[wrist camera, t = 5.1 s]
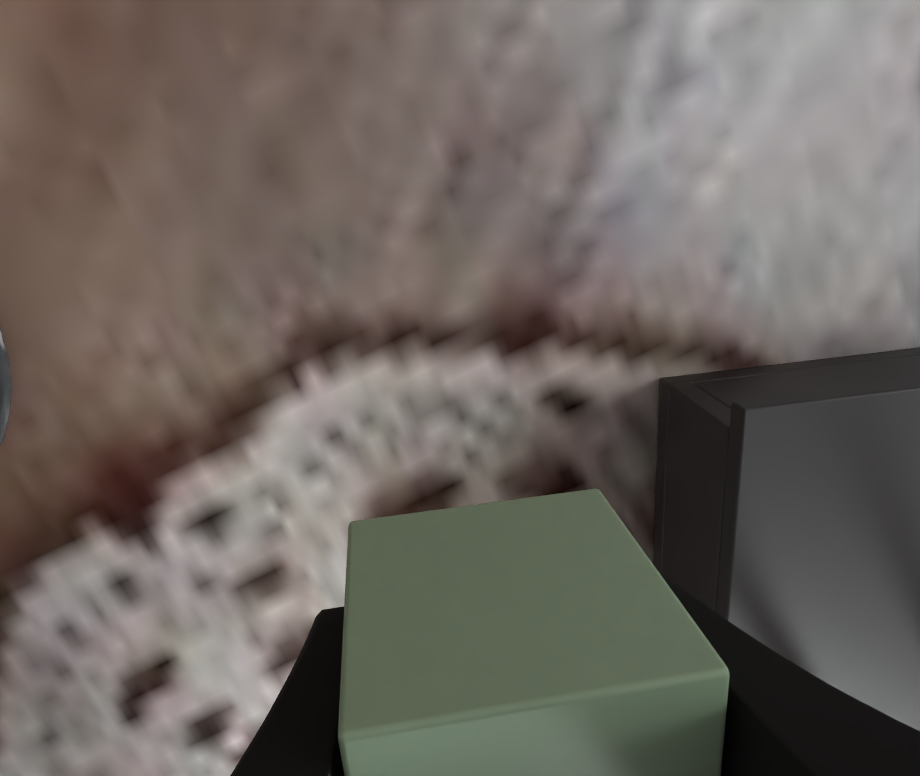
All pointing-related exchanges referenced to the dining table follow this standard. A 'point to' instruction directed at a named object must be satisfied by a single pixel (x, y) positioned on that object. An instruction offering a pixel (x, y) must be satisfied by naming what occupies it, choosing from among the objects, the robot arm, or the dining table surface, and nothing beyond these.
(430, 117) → the dining table surface
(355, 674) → the block
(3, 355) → the milk frother
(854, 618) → the cover
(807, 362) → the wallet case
